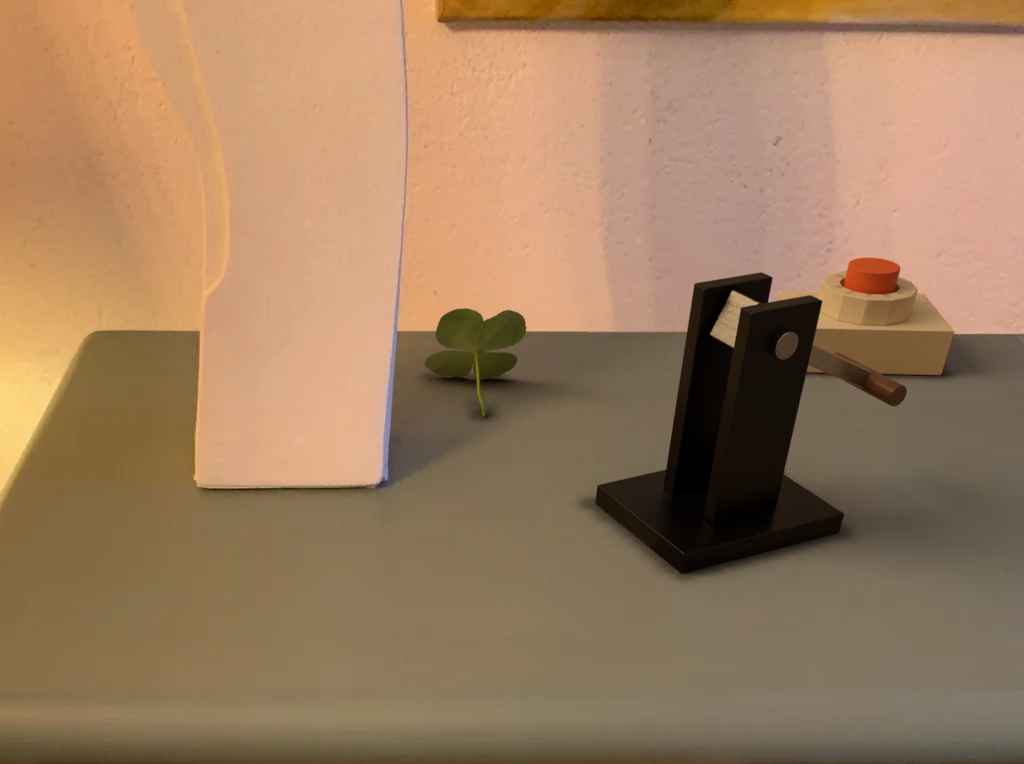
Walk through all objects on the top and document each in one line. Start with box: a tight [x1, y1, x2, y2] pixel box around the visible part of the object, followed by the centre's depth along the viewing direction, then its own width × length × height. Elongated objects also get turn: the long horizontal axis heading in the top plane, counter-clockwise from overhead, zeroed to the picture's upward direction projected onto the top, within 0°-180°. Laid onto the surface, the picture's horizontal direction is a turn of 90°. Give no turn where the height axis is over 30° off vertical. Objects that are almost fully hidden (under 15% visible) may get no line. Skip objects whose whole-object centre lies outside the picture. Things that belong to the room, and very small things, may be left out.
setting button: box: [843, 257, 901, 295], centre depth 83 cm, size 4×4×2 cm
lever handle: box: [710, 290, 908, 407], centre depth 63 cm, size 12×6×2 cm, turn 115°
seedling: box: [424, 307, 527, 419], centre depth 80 cm, size 7×8×6 cm
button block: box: [776, 270, 955, 376], centre depth 85 cm, size 11×8×5 cm
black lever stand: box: [595, 271, 845, 574], centre depth 63 cm, size 11×9×13 cm
